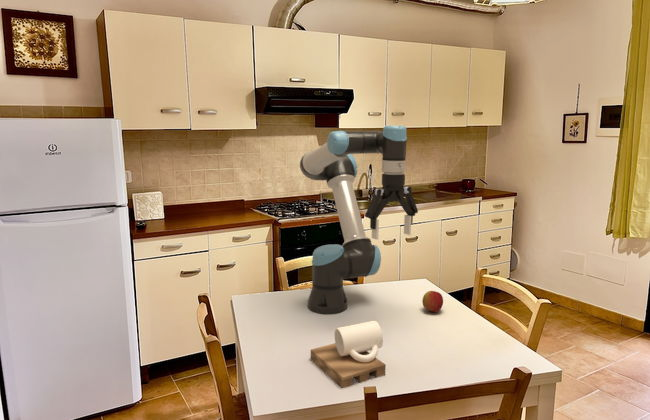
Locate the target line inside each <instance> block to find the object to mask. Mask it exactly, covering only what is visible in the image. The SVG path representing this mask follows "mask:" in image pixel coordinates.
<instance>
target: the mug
mask: <svg viewBox="0 0 650 420" xmlns="http://www.w3.org/2000/svg"><path fill="white" fill-rule="evenodd" d="M334 342H335V343H336V347H337V350H338V352H339V354H340V355H341V356H346V355H351V357H353V358H354V359H355V360H357V361H360V362H370V361H372V360H373V359H374V358H375V357H376V358H377V356H378V353H379V349H381V348H382V347H383V343H384V335H383V332H382V327H381V326H380V324H379V323H378V321H376V320H371V321H365V322H361V323H355V324H350V325H346V326H341V327H337V328H335V330H334ZM365 351H367V352H369V351H370V352H369V353H370V354H368V355H360V354H358V353H360V352H365Z"/></svg>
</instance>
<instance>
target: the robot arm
mask: <svg viewBox="0 0 650 420" xmlns="http://www.w3.org/2000/svg"><path fill="white" fill-rule="evenodd" d="M407 139H408V137H407V126H405V125H384V126H383V130H382V131H381V130H370V131H369V130H368V131H367V130H366V131H365V130H363V131H361V130H358V131H357V130H356V131H355V130H353V131H352V130H336V131H331V132H330V133H329V134H328V136H327V139H326V142H325V143H324V144H322V145H321V146H320V147H318V148H316V149H315V150H309V151H308V152H306V153H305V154H304V155H303V156H302V157H301V159H300V161H299V168H300V171H301V172H302V174H303V175H304V176H305V177H306V178H308V179H310V180H311V181H326V184H327V187H328V188H329V189H331V190H332V194H333V197H334V203H335V207H336V210H337V214H338V219H339V223H340V224H339V225H340V228H341V232H342V237H343V240H344V242H343V243H342V245H341V244H338V243H337V244H336V243H334V244H331V243H330V244H325V245H321V246H318V247H316V248H315V249H314V250H313V252H312V259H311V265H312V269H311V270H312V272H311V273H312V275H311V277H312V285H311V286H312V287H311V291H310V293H309V295H308V300H307V308H308V310H310V311H311V312H314V313H317V314H322V315H323V314H324V315H333V314H339V313H342V312H344V311H346V310H347V309H348V299H347V296H346V293H345V290H344V280H346V279H355V278H363V277H364V278H366V277H369V276H375V275H376V274H377V273H378V272H379V271H380V268H381V261H382V256H381V255H382V254H381V250H380V247H378V246H377V245H375V244H373V243H372V240H371V239H373V240H379V233H380V232H379V228H380V227H379V223H380V221H379V220H380V219H378V218H379V217H380V215H381V213H382V212H383V210H384V209H385V207H386V206H387V205H388V204H389V203H393V202H398V203H399V205H400V207H402V209H403V211H404V212H405V214H404V217H403V218H404V222H403V234H404V235H408V236H411V235H412V225H413V223H414V222H413V217H415V216H416V214H418V213H419V210H418V208H417V204H416V202H415V198H414V196H413V191H412V187H410V186H405V183H406V175H405V172H406V163H407V162H406V159H407V158H406V157H407ZM353 154H354V155H359V154H381V155H382V161H381V172H382V174H381V185H382V188H381V189H380V188H374V189H373V196H372V198H371V201H370V202H369V205H368V208H367V210H366V212H365V215H364V217H365V218H368V219H369V221H370V222H369V224H370V226H369V227H370V229H371V238H369V237H367V236H366V232H365V229H364V225H363V222H362V221H363V220H362V216H361V213H360V209H359V205H358V201H357V197H356V194H355V189H354V186H353V185H354V182H355V179H356V177H357V175H358V164H357V161H356V158H355V156H354V155H353Z"/></svg>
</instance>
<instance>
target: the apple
mask: <svg viewBox="0 0 650 420" xmlns="http://www.w3.org/2000/svg"><path fill="white" fill-rule="evenodd" d="M443 304H444V297H443V295H442V294H441V292H438V291H435V290H428V291H427V292H426V293H424V294H423V297H422V306H423V308H424V309H426V310H428V311H430V312H432V313H438V312H439V311H440V310H441V309H442V307H443Z"/></svg>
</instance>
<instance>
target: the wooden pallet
mask: <svg viewBox="0 0 650 420" xmlns="http://www.w3.org/2000/svg"><path fill="white" fill-rule="evenodd" d="M370 353H371V352H369V351H365V352H360V353H358V354H360V355H368V354H370ZM310 360H311V361H312V362H313V363H314V364H316V365H317V366H318V367H319V368H320V369H321V370H322V371H323V372H324V373H326V375H328V377H329V378H331V379H332V380H333V381H334V382H335V383H337V385H339V386H340V387H341V388H342V389H344V388H347V387H351V386H353V378H354V379H355V380H356V381H357V382H358V383H364V382H367V381H369V380H370V374H371V375H373V376H374V377H375V378H378V377H382V376H385V375H386V369H387V368H386V365H387V364H385V363H384V362H382V361H381V360H380V359H378V358H377V356H376V357H375V358H374V359H373V360H372V361H370V362H360V361H357V360H355V359H354V358H353V357H351V355H346V356H341V355H340V354H339V352H338V350H337V347H336V343H330V344H327V345H323V346H322V345H321V346H320V347H315V348H311V349H310Z"/></svg>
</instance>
